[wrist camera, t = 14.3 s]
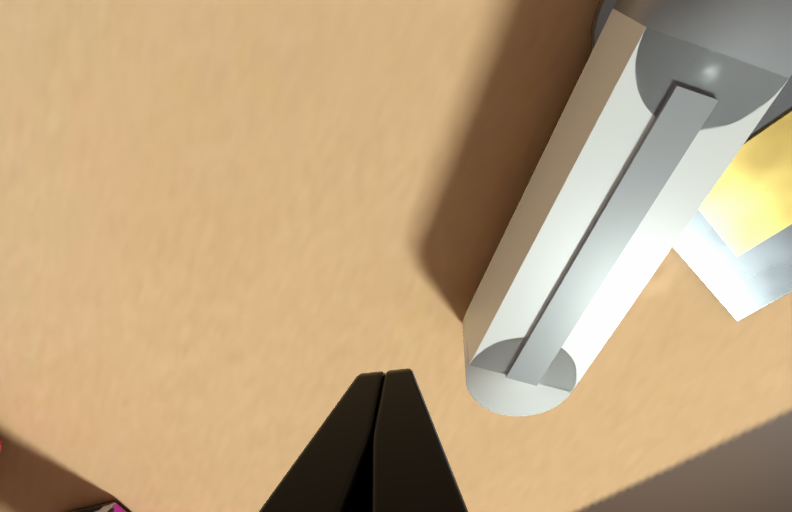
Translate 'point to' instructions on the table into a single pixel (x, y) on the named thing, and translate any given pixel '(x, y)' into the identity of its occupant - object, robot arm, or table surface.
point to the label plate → (743, 212)
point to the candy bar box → (104, 508)
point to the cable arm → (619, 187)
